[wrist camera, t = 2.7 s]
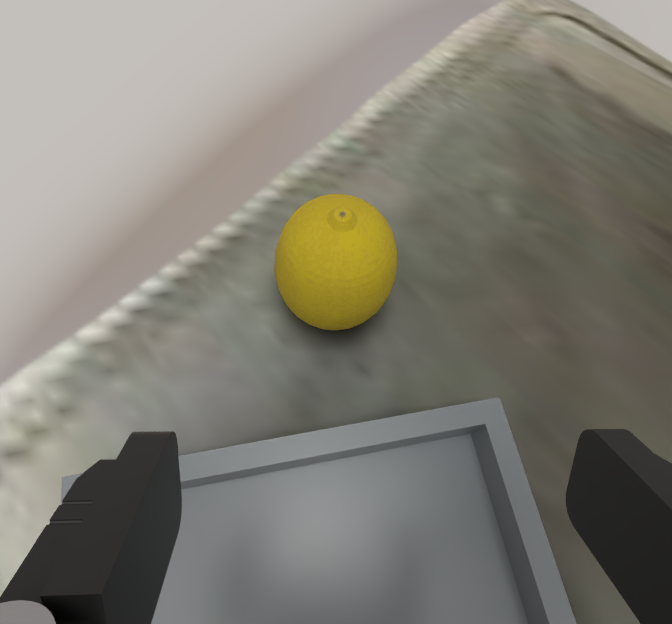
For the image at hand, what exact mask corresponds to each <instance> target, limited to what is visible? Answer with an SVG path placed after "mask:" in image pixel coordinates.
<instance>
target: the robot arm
mask: <svg viewBox="0 0 672 624" xmlns="http://www.w3.org/2000/svg"><path fill="white" fill-rule="evenodd" d="M566 507H567V512H568V515H569V518H570V520H571V523H572V524H573V526H574V528H575V529H576V531H577V532H578V533H579V535H580V536H581V538H582V539H583V541H584V542H585V544H586V545H587V546H588V548H589V549H590V551H591V552H592V554H593V555H594V557H595V558H596V559H597V561H598V562H599V564H600V565H601V567H602V568H603V570H604V571H605V572H606V574H607V575H608V577H609V578H610V580H611V581H612V583H613V584H614V586H615V587H616V588H617V590H618V591H619V593H620V594H621V596H622V597H623V599H624V600H625V601H626V603H627V604H628V606H629V607H630V609H631V610H632V612H633V613H634V614H635V616H636V617H637V619H638V620H639V622H640V623H641V624H672V464H671V463H669V462H668V461H666V460H664V459H662V458H661V457H659V456H657V455H655V454H654V453H653V452H652V451H651V450H649V449H648V448H647V447H646V446H645V445H644V444H643V443H642V442H641V441H640V440H638V439H637V438H636V437H635V436H634V435H633V434H632V433H631V432H629V431H627V430H624V429H589V430H585V431H583V432H582V433H581V435H580V437H579V440H578V444H577V448H576V452H575V457H574V461H573V465H572V470H571V474H570V478H569V483H568V487H567V491H566ZM181 514H182V493H181V481H180V469H179V457H178V445H177V438H176V434H175V433H174V432H133V433H131V435H130V436H129V438H128V440H127V441H126V443H125V445H124V447H123V448H122V450H121V452H120V454H119V456H118V457H117V459H116V460H99V461H98V462H97V463H96V464H94V465H93V466H92V467H90V468H89V469H88V470H87V471H85V472H84V473H83V474H82V475H80V476H79V477H78V478H77V479H76V480H75V482H74V483H73V485H72V486H71V488H70V489H69V491H68V493H67V494H66V496H65V497H64V499H63V500H62V505H59V507H58V508H57V510H56V511H55V513H54V514H53V516H52V517H51V519H50V524H49V525H46V527H45V528H44V530H43V531H42V533H41V535H40V536H39V538H38V539H37V541H36V542H35V544H34V545H33V547H32V549H31V550H30V552H29V553H28V555H27V556H26V558H25V560H24V561H23V563H22V564H21V566H20V567H19V569H18V570H17V572H16V574H15V575H14V577H13V578H12V580H11V581H10V583H9V584H8V586H7V588H6V589H5V591H4V592H3V594H2V595H1V597H0V624H151V622H152V619H153V616H154V612H155V609H156V606H157V602H158V599H159V596H160V592H161V589H162V586H163V582H164V579H165V576H166V573H167V569H168V566H169V563H170V559H171V556H172V553H173V549H174V546H175V543H176V539H177V536H178V532H179V528H180V522H181Z"/></svg>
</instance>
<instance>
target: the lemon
mask: <svg viewBox="0 0 672 624" xmlns="http://www.w3.org/2000/svg"><path fill="white" fill-rule="evenodd" d="M396 268H397V249H396V245H395V240H394V235H393V232H392V230H391V228H390V226H389V225H388V223H387V221H386V219H385V218H384V217H383V216H382V215H381V213H380V212H379V211H378V210H377V209H376V208H375V207H373V206H372V205H371V204H369V203H368V202H366V201H364V200H362V199H359V198H357V197H355V196H350V195H345V194H329V195H325V196H320V197H317V198H315V199H313V200H311V201H309V202H307V203H305V204H304V205H303V206H301V207H300V208H299V209H298V210H296V211H295V212H294V214H293V215H292V216H291V218H290V219H289V220H288V222H287V223H286V225H285V226H284V228H283V231H282V233H281V236H280V239H279V241H278V244H277V247H276V253H275V277H276V281H277V285H278V289H279V292H280V294H281V296H282V298H283V299H284V301H285V303H286V305H287V306H288V308H289V309H290V310H291V311H292V312H293V313H294V314H295V315H296V316H297V317H298V318H299V319H301V320H303V321H304V322H306V323H308V324H309V325H311V326H314V327H317V328H320V329H324V330H343V329H349V328H352V327H354V326H357V325H359V324H362V323H364V322H365V321H366V320H368V319H369V318H370V317H372V316H373V315H374V314H376V313H377V311H378V310H379V309H380V308H381V306H382V305H383V304H384V302H385V301H386V300H387V298H388V296H389V294H390V291H391V289H392V286H393V284H394V281H395V277H396Z"/></svg>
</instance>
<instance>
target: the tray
mask: <svg viewBox="0 0 672 624" xmlns="http://www.w3.org/2000/svg"><path fill="white" fill-rule="evenodd" d="M178 457H179V469H180V481H181V493H182V514H181V522H180V528H179V532H178V536H177V539H176V543H175V546H174V549H173V553H172V556H171V559H170V563H169V566H168V569H167V573H166V576H165V579H164V582H163V586H162V589H161V592H160V596H159V599H158V602H157V606H156V609H155V612H154V616H153V619H152V622H151V624H576V621H575V618H574V615H573V612H572V609H571V606H570V603H569V600H568V597H567V594H566V591H565V588H564V586H563V583H562V580H561V577H560V574H559V571H558V568H557V565H556V562H555V559H554V556H553V553H552V550H551V547H550V544H549V541H548V538H547V535H546V532H545V529H544V527H543V524H542V521H541V518H540V515H539V512H538V509H537V506H536V503H535V500H534V497H533V494H532V491H531V488H530V485H529V482H528V479H527V476H526V473H525V470H524V468H523V465H522V462H521V459H520V456H519V453H518V450H517V447H516V444H515V441H514V438H513V435H512V432H511V429H510V426H509V423H508V420H507V417H506V414H505V411H504V409H503V406H502V403H501V400H500V397H497V398H492V399H486V400H481V401H475V402H470V403H464V404H459V405H453V406H448V407H443V408H437V409H432V410H426V411H421V412H415V413H410V414H404V415H399V416H393V417H388V418H382V419H377V420H372V421H366V422H361V423H355V424H350V425H344V426H339V427H333V428H328V429H322V430H317V431H311V432H306V433H301V434H295V435H290V436H284V437H279V438H273V439H268V440H262V441H257V442H251V443H246V444H241V445H235V446H230V447H224V448H219V449H213V450H208V451H202V452H197V453H191V454H186V455H180V456H178ZM82 474H83V473H82ZM82 474H77V475H71V476H66V477H62V496H61V505H62V500H63V499H64V497H65V496H66V494H67V493H68V491H69V489H70V488H71V486H72V485H73V483H74V482H75V480H76V479H77V478H78V477H79V476H80V475H82Z"/></svg>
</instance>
